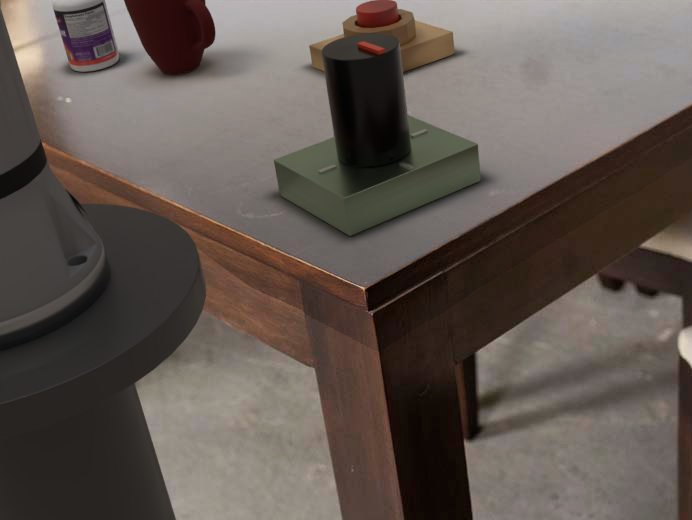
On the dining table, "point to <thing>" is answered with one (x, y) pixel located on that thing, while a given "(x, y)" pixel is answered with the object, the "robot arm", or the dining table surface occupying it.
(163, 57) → the mug
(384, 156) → the dial
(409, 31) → the button block
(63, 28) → the pill bottle
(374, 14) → the button
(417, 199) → the panel
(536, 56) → the dining table surface
